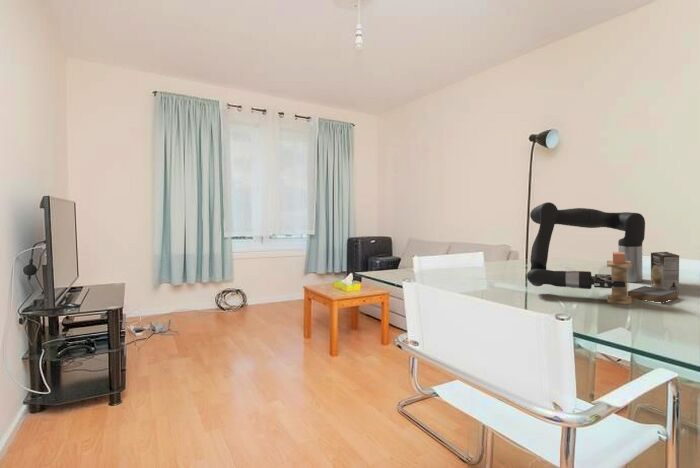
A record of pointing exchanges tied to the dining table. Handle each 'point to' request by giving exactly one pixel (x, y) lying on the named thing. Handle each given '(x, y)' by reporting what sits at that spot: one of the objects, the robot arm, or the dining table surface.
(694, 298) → the dining table surface
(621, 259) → the block
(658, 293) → the dock
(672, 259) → the coffee box
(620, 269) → the wooden pedestal
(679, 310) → the dining table surface
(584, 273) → the robot arm
